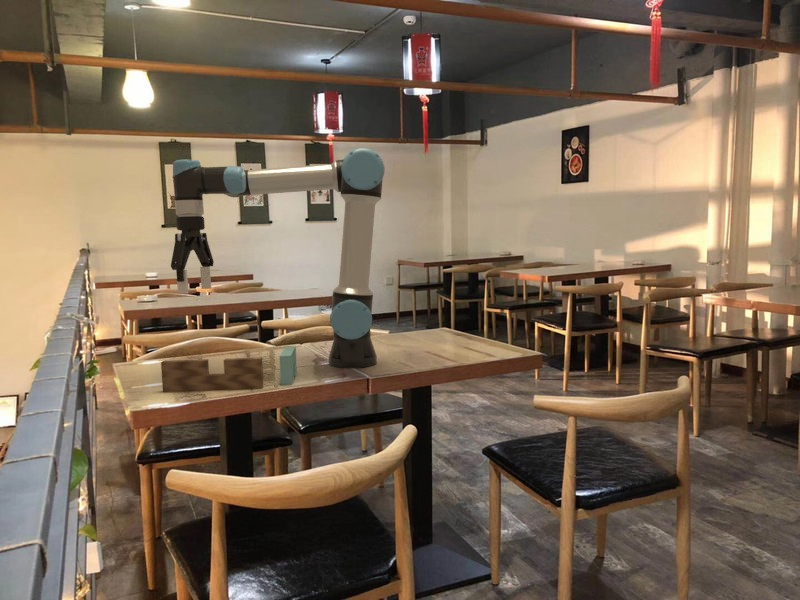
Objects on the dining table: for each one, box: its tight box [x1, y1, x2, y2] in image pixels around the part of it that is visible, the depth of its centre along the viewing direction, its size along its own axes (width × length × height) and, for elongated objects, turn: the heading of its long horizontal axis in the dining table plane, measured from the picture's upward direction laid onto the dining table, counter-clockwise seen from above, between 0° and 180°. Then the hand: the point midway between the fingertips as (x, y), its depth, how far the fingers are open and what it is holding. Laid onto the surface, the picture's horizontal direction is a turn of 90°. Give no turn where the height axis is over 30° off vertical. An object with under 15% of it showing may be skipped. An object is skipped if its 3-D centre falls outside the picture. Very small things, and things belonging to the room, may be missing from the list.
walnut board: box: [160, 357, 264, 393], centre depth 166 cm, size 26×2×8 cm, turn 94°
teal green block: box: [279, 346, 298, 386], centre depth 176 cm, size 3×14×8 cm, turn 4°
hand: (195, 291), depth 177 cm, fingers open, 13 cm apart
